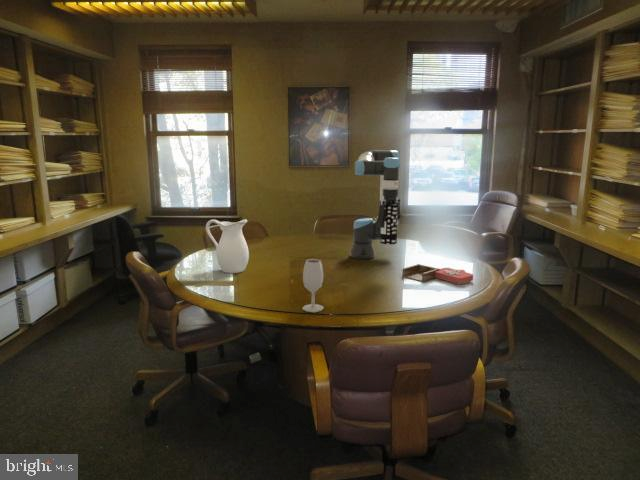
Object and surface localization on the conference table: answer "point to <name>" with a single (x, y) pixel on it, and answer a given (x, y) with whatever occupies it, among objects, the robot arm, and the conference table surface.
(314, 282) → the wineglass
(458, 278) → the plaque
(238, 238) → the pitcher
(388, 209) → the spotted tube
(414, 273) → the walnut tray
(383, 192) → the robot arm
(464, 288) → the conference table surface
